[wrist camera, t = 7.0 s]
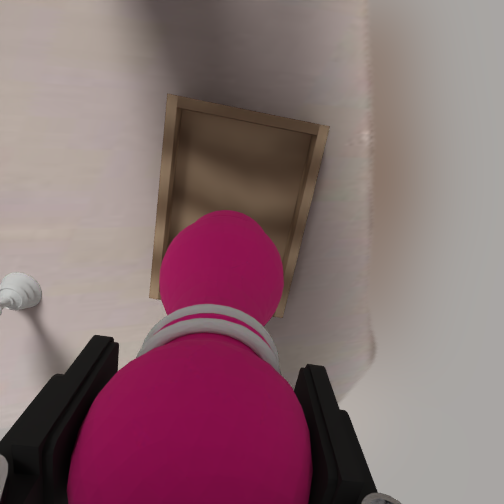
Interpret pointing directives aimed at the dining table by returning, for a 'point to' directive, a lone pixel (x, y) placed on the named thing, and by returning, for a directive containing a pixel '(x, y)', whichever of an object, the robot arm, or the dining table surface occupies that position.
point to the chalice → (19, 292)
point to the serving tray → (236, 175)
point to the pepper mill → (201, 387)
